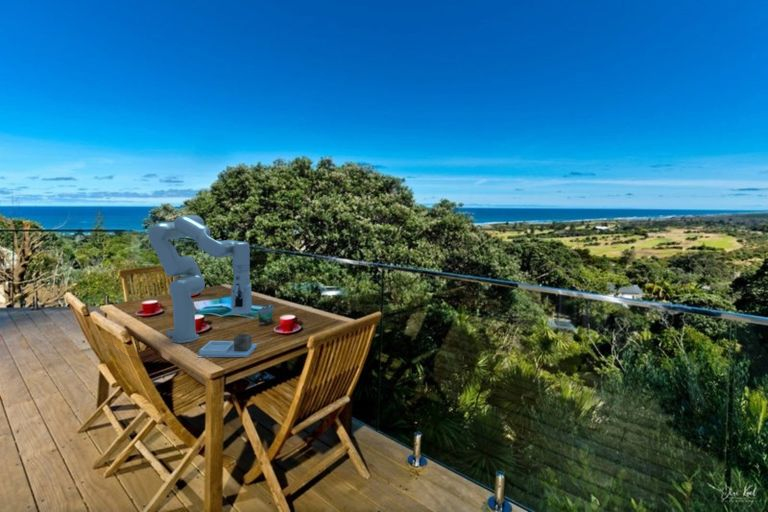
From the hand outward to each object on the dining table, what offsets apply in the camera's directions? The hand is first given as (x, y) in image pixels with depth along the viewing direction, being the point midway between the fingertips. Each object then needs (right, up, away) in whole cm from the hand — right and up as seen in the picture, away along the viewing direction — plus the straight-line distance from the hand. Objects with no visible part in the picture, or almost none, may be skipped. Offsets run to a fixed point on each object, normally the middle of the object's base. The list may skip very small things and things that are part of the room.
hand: (241, 304), depth 184 cm
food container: (+1, -16, +40) cm, 43 cm away
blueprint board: (-4, -22, -4) cm, 22 cm away
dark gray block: (+2, -20, -4) cm, 21 cm away
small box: (0, -4, +1) cm, 4 cm away
